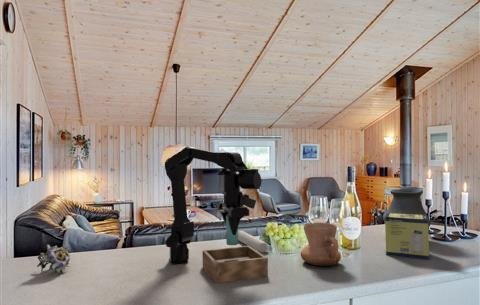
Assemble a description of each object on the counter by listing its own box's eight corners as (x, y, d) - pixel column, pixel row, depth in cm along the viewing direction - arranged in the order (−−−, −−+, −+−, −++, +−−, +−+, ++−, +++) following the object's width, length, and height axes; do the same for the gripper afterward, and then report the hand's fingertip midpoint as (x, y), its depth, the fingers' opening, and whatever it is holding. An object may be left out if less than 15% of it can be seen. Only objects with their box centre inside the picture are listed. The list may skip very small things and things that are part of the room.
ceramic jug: (292, 259, 131) (291, 222, 131) (324, 255, 136) (324, 219, 136) (317, 273, 114) (317, 231, 114) (353, 268, 119) (352, 228, 119)
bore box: (215, 283, 106) (215, 264, 106) (202, 267, 122) (202, 250, 122) (267, 276, 112) (267, 257, 112) (249, 261, 128) (248, 245, 128)
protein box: (386, 249, 145) (385, 212, 145) (428, 253, 138) (427, 215, 138) (385, 255, 135) (384, 216, 135) (429, 260, 128) (429, 219, 129)
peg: (228, 245, 114) (228, 216, 114) (225, 243, 118) (224, 214, 118) (239, 244, 116) (239, 215, 116) (235, 242, 119) (235, 213, 119)
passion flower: (62, 289, 116) (59, 267, 110) (30, 284, 115) (24, 261, 109) (77, 262, 126) (74, 240, 119) (47, 257, 125) (43, 235, 118)
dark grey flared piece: (375, 240, 160) (374, 187, 160) (394, 233, 175) (393, 184, 175) (422, 248, 145) (420, 190, 145) (438, 239, 160) (437, 187, 160)
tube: (271, 243, 140) (246, 231, 163) (261, 240, 138) (236, 228, 161) (268, 256, 140) (243, 242, 162) (257, 253, 137) (233, 239, 160)
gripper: (263, 189, 111) (264, 237, 111) (244, 185, 129) (244, 226, 128) (231, 191, 107) (232, 240, 107) (216, 186, 125) (216, 229, 125)
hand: (232, 233), depth 117 cm, fingers closed on peg, 4 cm apart
